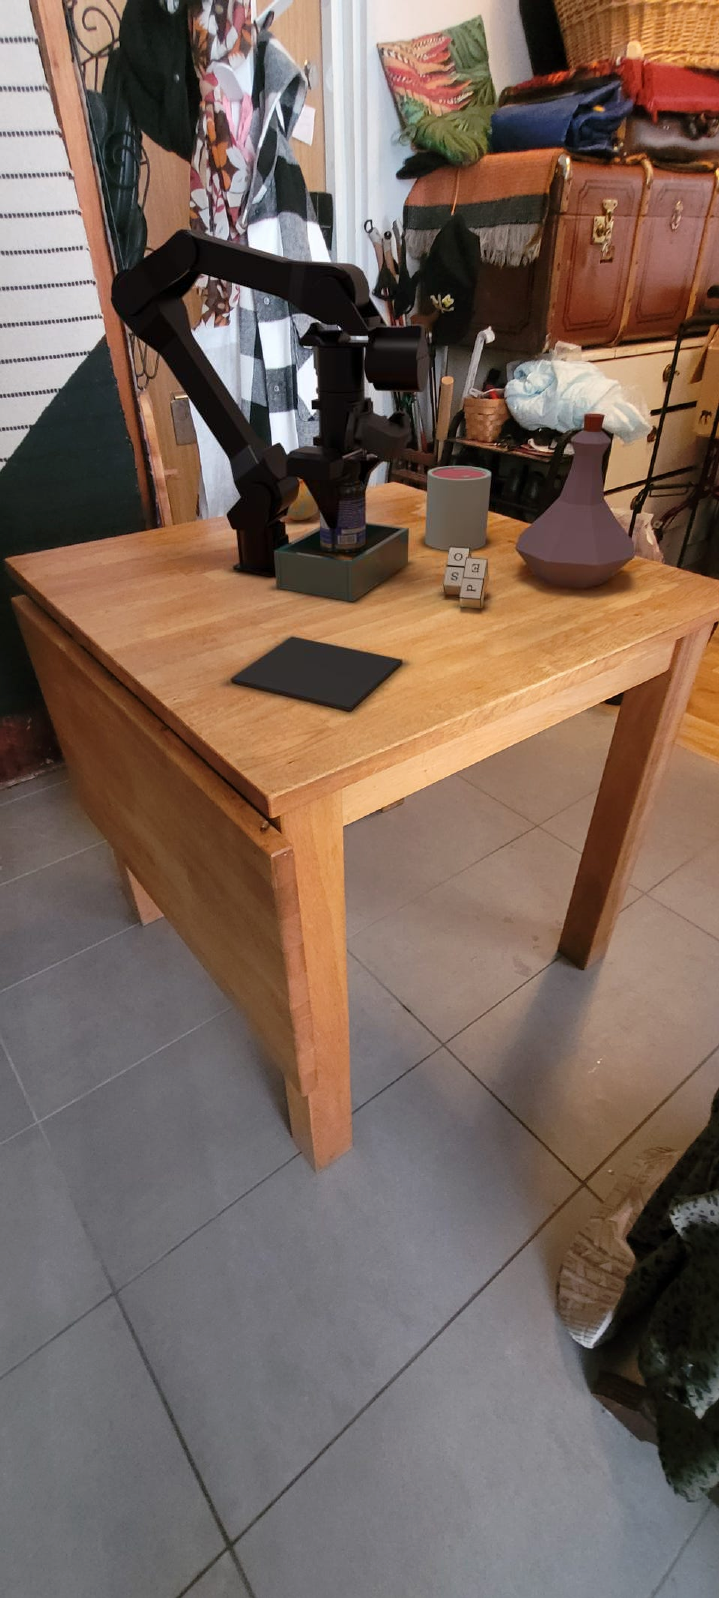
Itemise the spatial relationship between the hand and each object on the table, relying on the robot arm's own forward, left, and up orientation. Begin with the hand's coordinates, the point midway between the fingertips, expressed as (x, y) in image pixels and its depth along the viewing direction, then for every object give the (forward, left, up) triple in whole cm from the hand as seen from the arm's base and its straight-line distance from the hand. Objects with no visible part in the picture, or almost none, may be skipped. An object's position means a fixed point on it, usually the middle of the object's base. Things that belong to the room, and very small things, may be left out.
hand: (343, 521), depth 102 cm
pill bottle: (0, 0, -4) cm, 4 cm away
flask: (+28, +13, -8) cm, 32 cm away
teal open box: (0, 0, -7) cm, 7 cm away
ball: (-20, +21, -8) cm, 30 cm away
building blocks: (+18, -1, -8) cm, 19 cm away
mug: (+7, +23, -8) cm, 25 cm away
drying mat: (+12, -28, -7) cm, 31 cm away
